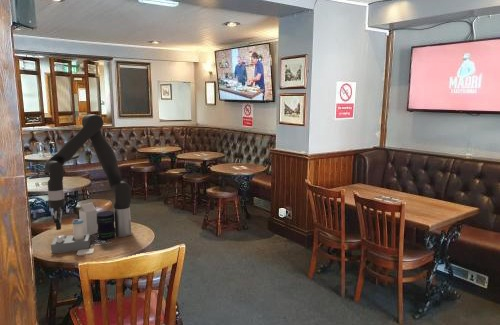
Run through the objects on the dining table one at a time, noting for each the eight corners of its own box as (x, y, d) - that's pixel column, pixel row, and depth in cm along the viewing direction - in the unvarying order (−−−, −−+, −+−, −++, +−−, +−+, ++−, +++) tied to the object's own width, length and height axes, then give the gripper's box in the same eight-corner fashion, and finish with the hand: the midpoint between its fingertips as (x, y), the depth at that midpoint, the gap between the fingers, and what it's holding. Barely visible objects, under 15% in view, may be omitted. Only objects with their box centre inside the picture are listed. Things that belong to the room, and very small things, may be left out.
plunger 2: (64, 245, 197) (63, 235, 196) (63, 247, 194) (62, 237, 194) (57, 245, 196) (57, 236, 195) (56, 247, 193) (56, 238, 193)
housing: (90, 241, 209) (89, 233, 208) (88, 249, 198) (87, 240, 197) (55, 245, 203) (55, 236, 203) (51, 253, 192) (50, 244, 191)
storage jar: (115, 233, 222) (114, 210, 219) (115, 239, 212) (113, 215, 210) (98, 235, 218) (96, 211, 216) (97, 241, 209) (95, 216, 207)
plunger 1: (66, 243, 204) (65, 234, 203) (65, 245, 201) (64, 236, 200) (60, 244, 203) (59, 235, 202) (59, 246, 200) (58, 237, 199)
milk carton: (98, 232, 224) (96, 203, 220) (87, 236, 218) (85, 205, 215) (91, 230, 227) (89, 201, 224) (80, 233, 221) (78, 203, 218)
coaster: (94, 249, 198) (94, 248, 198) (93, 253, 192) (93, 252, 192) (78, 251, 195) (78, 250, 195) (76, 255, 190) (76, 254, 190)
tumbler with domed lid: (85, 244, 205) (83, 217, 203) (84, 247, 200) (82, 220, 198) (75, 245, 204) (72, 218, 201) (73, 249, 198) (71, 221, 196)
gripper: (62, 200, 186) (64, 232, 189) (66, 194, 198) (68, 224, 201) (45, 201, 184) (48, 234, 186) (51, 195, 196) (53, 226, 199)
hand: (58, 229), depth 194 cm, fingers closed
